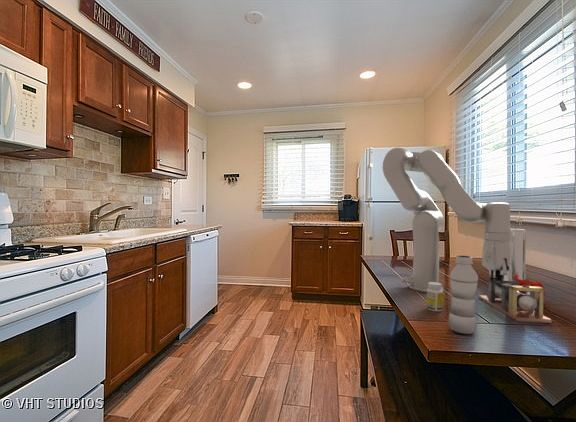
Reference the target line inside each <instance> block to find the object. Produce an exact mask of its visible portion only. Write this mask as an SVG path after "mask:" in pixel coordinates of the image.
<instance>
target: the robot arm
mask: <svg viewBox="0 0 576 422" xmlns="http://www.w3.org/2000/svg"><path fill="white" fill-rule="evenodd" d="M382 172H383V176H384V177H385V178H384V179H385V180H386V182H387V184H389V186H390V188H391V190H392V191H393V194H395V196H396V198H397V199H398V201H399V202H400V204H401V206H402V207H403V208H404V210H406V211H410V212H413V214H414V217H413V219H412V222H411V223H412V224H411V227H412V228H411V229H412V237H413V238H412V239H413V242H412V243H413V246H412V247H413V252H412V253H413V256H412V257H413V259H412V275H410V276H409V277H402V276H401V277H400V283H405V284H408V288H409V289H411V290H414V291H416V292H417V291H418V292H423V293H427V289H428V288H429V287H428V283H429V282H438V283H440V281H439V280H440V279H439V277H440V275H439V274H440V235H439V232H440V231H441V230H442V229H444V226H445V222H446V221H445V217H444V215H443V213H442V212H441V210H440V209H439V208H438V206H437V205H436V203H435V202H434V200H433V199H432V197H431V196H430V195H429V193H428V192H426V191H425V190H423V189H419V188H418V187H417V186H416V184H415V183H414V181H413V180H412V179H411V177H410V176H409V175H408V172H418V173H423V174H424V175H425V176H426V178H427V179H428V180H429V181H430V183H431V184H432V186H434V187H435V188H436V190H437V191H438V193H439V194H440V196H441V197H442V199H443V200H444V201H445V203H446V204H447V205H448V206H449V208H450V209H451V210H452V212H453V213H454V214H455V215H456V216H457V218H459V219H460V220H461V221H463V222H464V223H469V224H472V223H479V222H480V223H481V222H484V227H483V228H484V230H483V231H484V237H483V240H484V241H483V247H482V253H481V264H482V266H483V267H484V268H486V269H487V270H488V271H489V273H488V274H489V279H497V280H504V275H507V271H509V270H510V263H511V259H510V246H509V242H510V229H511V205H510V204H509V203H508V202H488V203H483V202H476V201H475V200H474V199H473V198H472V197H471V195H470V194H469V193H468V192H467V190H465V188H464V187H463V185H462V183H461V181H460V178H459V177H458V175H457V174H456V172H455V171H454V170H453V169H452V168H451V167H450V166H449V165H448V164H447V163H446V161H445V160H444V158H443V156H442V155H441V154H440V153H438V152H437V151H435V150H432V149H426V150H423V151H421V152H417V151H410V150H407V149H406V148H402V147H394V148H391V149H390V150H389V151H387V153H386V154H385V156H384V158H383V160H382ZM495 284H497V283H495ZM500 284H502V283H500ZM442 290H443V291H444V287H443V286H442Z"/></svg>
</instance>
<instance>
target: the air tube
mask: <svg viewBox="0 0 576 422" xmlns="http://www.w3.org/2000/svg"><path fill="white" fill-rule="evenodd" d="M502 285H504V284H500V283H497V284H495V295H496V296H498V297H500V298H502ZM517 307H518V308H520V309H522V310H525V311H528V312H530V311H533V310H535V309H536V307H537V302H536V300H535V299H534V298H532V297H531V296H529V295H527V294H523V293H521V292H519V291H517Z"/></svg>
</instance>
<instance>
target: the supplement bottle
mask: <svg viewBox="0 0 576 422" xmlns="http://www.w3.org/2000/svg"><path fill="white" fill-rule="evenodd" d="M428 287H429V288H428V289H427V292H426V309H427V310H428V311H432V312H438V313H439V312H442V311H444V289H443V290H442V287H443V284H442V283H440V282H439V283H438V282H429V283H428Z"/></svg>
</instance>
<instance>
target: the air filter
mask: <svg viewBox="0 0 576 422" xmlns="http://www.w3.org/2000/svg"><path fill="white" fill-rule="evenodd" d="M526 244H527V231H526V229H524V228H523V229H522V228H510V242H509V246H510V259H511V263H510V270H509V271H507V275H503V280H517V279H521V280H524V279H526V258H527V257H526V253H527V252H526V251H527V250H526V248H527V245H526ZM503 285H511V284H503Z"/></svg>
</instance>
